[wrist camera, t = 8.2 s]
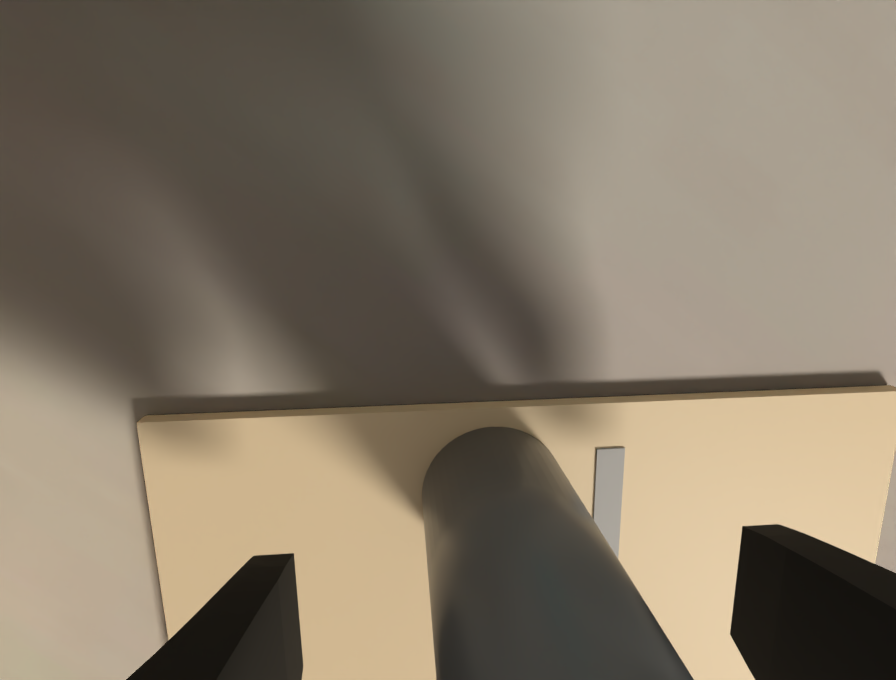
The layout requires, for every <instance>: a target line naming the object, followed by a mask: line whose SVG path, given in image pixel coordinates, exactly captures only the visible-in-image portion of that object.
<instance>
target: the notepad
mask: <svg viewBox="0 0 896 680" xmlns="http://www.w3.org/2000/svg"><path fill="white" fill-rule="evenodd" d="M136 424H137V431H138V438H139V444H140V451H141V458H142V465H143V471H144V478H145V485H146V492H147V499H148V505H149V512H150V519H151V526H152V532H153V539H154V546H155V553H156V560H157V566H158V573H159V580H160V587H161V593H162V600H163V607H164V614H165V620H166V627H167V634H168V640H169V639H171V638H172V637H173V636H174V635H175V634H176V633H177V632H178V631H179V630H180V629H181V628H182V627H183V626H184V625H185V624H186V623H187V622H188V621H189V620H190V619H191V618H192V617H193V616H194V615H195V614H196V613H197V612H198V611H199V610H200V609H201V608H202V607H203V606H204V605H205V604H206V603H207V602H208V601H209V600H210V599H211V598H212V597H213V596H214V595H215V594H216V593H217V592H218V591H219V590H220V589H221V588H222V586H223V585H224V584H225V583H226V582H227V581H228V580H229V579H230V578H231V577H232V576H233V575H234V574H235V573H236V572H237V571H238V570H239V569H240V568H241V567H242V566H243V565H244V564H245V563H246V562H247V561H248V560H249V559H250V558H252V557H253V556H255V555H272V554H288V553H294V561H295V573H296V585H297V596H298V608H299V620H300V632H301V644H302V655H303V673H302V680H436V668H435V656H434V643H433V631H432V618H431V606H430V593H429V580H428V568H427V555H426V543H425V530H424V518H423V505H422V487H423V482H424V478H425V475H426V472H427V470H428V468H429V466H430V464H431V462H432V461H433V459H434V458H435V456H436V455H437V454H438V453H439V452H440V451H441V449H442V448H444V447H445V446H446V445H447V444H448V443H449V442H451V441H452V440H454V439H455V438H457V437H459V436H461V435H463V434H464V433H467V432H470V431H472V430H475V429H480V428H484V427H508V428H513V429H517V430H521V431H523V432H525V433H528V434H530V435H531V436H533V437H535V438H536V439H538V440H539V441H540V442H541V443H543V444H544V445H545V446H546V447H547V448H548V449H549V451H550V452H551V453H552V455H553V456H554V458H555V459H556V461H557V463H558V464H559V466H560V467H561V469H562V470H563V472H564V474H565V475H566V477H567V478H568V480H569V482H570V483H571V485H572V486H573V488H574V490H575V491H576V493H577V494H578V496H579V498H580V499H581V501H582V502H583V504H584V506H585V507H586V509H587V510H588V512H589V513H590V515H591V517H592V518H593V520H594V521H595V523H596V525H597V526H598V528H599V529H600V531H601V533H602V534H603V536H604V537H605V539H606V541H607V542H608V544H609V545H610V547H611V548H612V550H613V552H614V553H615V555H616V556H617V558H618V560H619V561H620V563H621V564H622V566H623V568H624V569H625V571H626V572H627V574H628V576H629V577H630V579H631V580H632V582H633V583H634V585H635V587H636V588H637V590H638V591H639V593H640V595H641V596H642V598H643V599H644V601H645V603H646V604H647V606H648V607H649V609H650V611H651V612H652V614H653V615H654V617H655V618H656V620H657V622H658V623H659V625H660V626H661V628H662V630H663V631H664V633H665V634H666V636H667V638H668V639H669V641H670V642H671V644H672V646H673V647H674V649H675V650H676V652H677V654H678V655H679V657H680V658H681V660H682V661H683V663H684V665H685V666H686V668H687V669H688V671H689V673H690V674H691V676H692V677H693V679H694V680H755V679H754V677H753V675H752V673H751V672H750V670H749V668H748V666H747V665H746V663H745V661H744V659H743V657H742V655H741V654H740V652H739V650H738V648H737V646H736V644H735V643H734V641H733V639H732V637H731V635H730V629H731V621H732V612H733V603H734V595H735V586H736V577H737V569H738V560H739V552H740V543H741V534H742V526H755V525H772V524H779V525H782V526H785V527H788V528H791V529H794V530H797V531H799V532H802V533H804V534H807V535H809V536H812V537H814V538H817V539H819V540H821V541H824V542H826V543H828V544H831V545H833V546H835V547H838V548H840V549H842V550H845V551H847V552H849V553H851V554H854V555H856V556H858V557H860V558H863V559H865V560H867V561H869V562H872V563H874V564H875V561H876V555H877V550H878V544H879V538H880V533H881V527H882V522H883V516H884V510H885V505H886V499H887V494H888V488H889V482H890V477H891V471H892V466H893V460H894V454H895V449H896V387H894V386H891V385H885V386H860V387H836V388H811V389H786V390H762V391H737V392H712V393H687V394H663V395H638V396H613V397H589V398H564V399H539V400H515V401H490V402H465V403H441V404H416V405H391V406H367V407H342V408H317V409H293V410H268V411H243V412H219V413H194V414H169V415H145V416H144V417H143V418H142V419H140V420H139V421H138V422H137V423H136Z"/></svg>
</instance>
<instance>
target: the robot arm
mask: <svg viewBox="0 0 896 680" xmlns="http://www.w3.org/2000/svg"><path fill="white" fill-rule="evenodd" d="M730 635H731V637H732V639H733V641H734V643H735V644H736V646H737V648H738V650H739V652H740V654H741V655H742V657H743V659H744V661H745V663H746V665H747V666H748V668H749V670H750V672H751V673H752V675H753V677H754V679H755V680H896V573H894V572H892V571H889V570H887V569H885V568H883V567H880V566H878V565H876V564H874V563H872V562H869V561H867V560H865V559H863V558H860V557H858V556H856V555H854V554H851V553H849V552H847V551H845V550H842V549H840V548H838V547H835V546H833V545H831V544H828V543H826V542H824V541H821V540H819V539H817V538H814V537H812V536H809V535H807V534H804V533H802V532H799V531H797V530H794V529H791V528H788V527H785V526H782V525H779V524H772V525H755V526H742V534H741V543H740V552H739V560H738V569H737V577H736V586H735V595H734V603H733V612H732V621H731V629H730ZM302 673H303V655H302V644H301V632H300V620H299V608H298V596H297V585H296V573H295V561H294V553H288V554H272V555H255V556H253V557H252V558H250V559H249V560H248V561H247V562H246V563H245V564H244V565H243V566H242V567H241V568H240V569H239V570H238V571H237V572H236V573H235V574H234V575H233V576H232V577H231V578H230V579H229V580H228V581H227V582H226V583H225V584H224V585H223V586H222V588H221V589H220V590H219V591H218V592H217V593H216V594H215V595H214V596H213V597H212V598H211V599H210V600H209V601H208V602H207V603H206V604H205V605H204V606H203V607H202V608H201V609H200V610H199V611H198V612H197V613H196V614H195V615H194V616H193V617H192V618H191V619H190V620H189V621H188V622H187V623H186V624H185V625H184V626H183V627H182V628H181V629H180V630H179V631H178V632H177V633H176V634H175V635H174V636H173V637H172V638H171V639H169V640H168V641H167V642H166V643H165V644H164V645H163V646H162V647H161V648H160V649H159V650H158V651H157V652H156V653H155V654H154V655H153V656H152V657H151V658H150V659H149V660H147V661H146V662H145V663H144V664H143V665H142V666H141V667H140V668H139V669H138V670H136V671H135V672H134V673H133V674H132V675H131V676H130V677H129V678H128V679H126V680H302Z"/></svg>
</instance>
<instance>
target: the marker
mask: <svg viewBox="0 0 896 680" xmlns="http://www.w3.org/2000/svg"><path fill="white" fill-rule="evenodd" d="M422 505H423V518H424V530H425V543H426V555H427V568H428V580H429V593H430V606H431V618H432V631H433V643H434V656H435V668H436V680H694V679H693V677H692V676H691V674H690V673H689V671H688V669H687V668H686V666H685V665H684V663H683V661H682V660H681V658H680V657H679V655H678V654H677V652H676V650H675V649H674V647H673V646H672V644H671V642H670V641H669V639H668V638H667V636H666V634H665V633H664V631H663V630H662V628H661V626H660V625H659V623H658V622H657V620H656V618H655V617H654V615H653V614H652V612H651V611H650V609H649V607H648V606H647V604H646V603H645V601H644V599H643V598H642V596H641V595H640V593H639V591H638V590H637V588H636V587H635V585H634V583H633V582H632V580H631V579H630V577H629V576H628V574H627V572H626V571H625V569H624V568H623V566H622V564H621V563H620V561H619V560H618V558H617V556H616V555H615V553H614V552H613V550H612V548H611V547H610V545H609V544H608V542H607V541H606V539H605V537H604V536H603V534H602V533H601V531H600V529H599V528H598V526H597V525H596V523H595V521H594V520H593V518H592V517H591V515H590V513H589V512H588V510H587V509H586V507H585V506H584V504H583V502H582V501H581V499H580V498H579V496H578V494H577V493H576V491H575V490H574V488H573V486H572V485H571V483H570V482H569V480H568V478H567V477H566V475H565V474H564V472H563V470H562V469H561V467H560V466H559V464H558V463H557V461H556V459H555V458H554V456H553V455H552V453H551V452H550V451H549V449H548V448H547V447H546V446H545V445H544V444H543V443H541V442H540V441H539V440H538V439H536V438H535V437H533V436H531V435H530V434H528V433H525V432H523V431H521V430H517V429H513V428H508V427H484V428H480V429H475V430H472V431H470V432H467V433H464V434H463V435H461V436H459V437H457V438H455V439H454V440H452V441H451V442H449V443H448V444H447V445H446V446H445V447H444V448H442V449H441V451H440V452H439V453H438V454H437V455H436V456H435V458H434V459H433V461H432V462H431V464H430V466H429V468H428V470H427V472H426V475H425V478H424V482H423V487H422Z"/></svg>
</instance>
